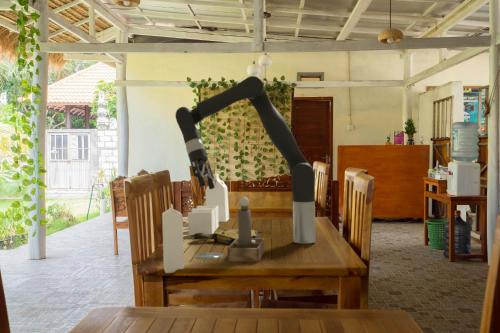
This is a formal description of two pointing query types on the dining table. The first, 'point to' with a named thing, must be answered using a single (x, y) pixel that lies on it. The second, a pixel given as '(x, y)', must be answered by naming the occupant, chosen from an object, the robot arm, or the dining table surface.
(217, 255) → the disc
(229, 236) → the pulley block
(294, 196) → the robot arm
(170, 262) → the milk
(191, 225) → the storage container
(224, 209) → the milk
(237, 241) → the caddy
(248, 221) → the pepper mill
